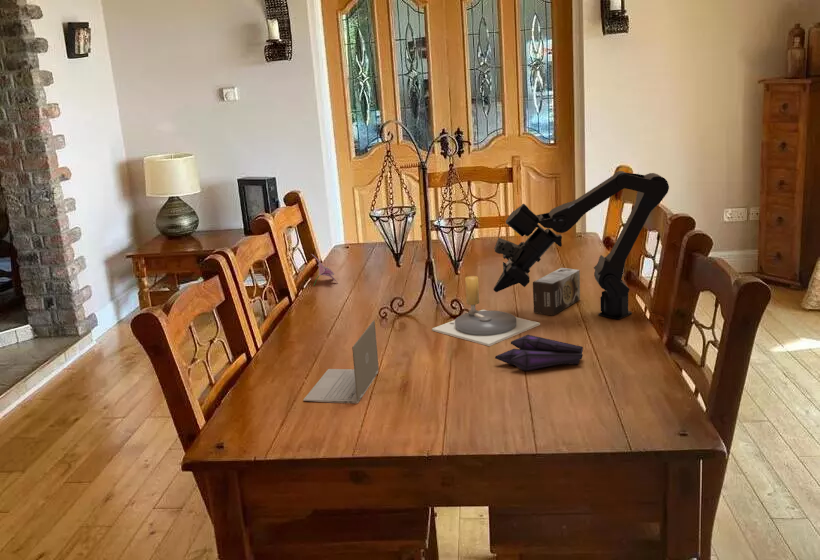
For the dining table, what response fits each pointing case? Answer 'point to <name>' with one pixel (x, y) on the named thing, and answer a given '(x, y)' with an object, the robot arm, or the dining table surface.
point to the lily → (324, 271)
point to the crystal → (540, 353)
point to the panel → (486, 339)
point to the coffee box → (556, 291)
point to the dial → (482, 315)
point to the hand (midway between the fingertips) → (494, 290)
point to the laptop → (350, 374)
